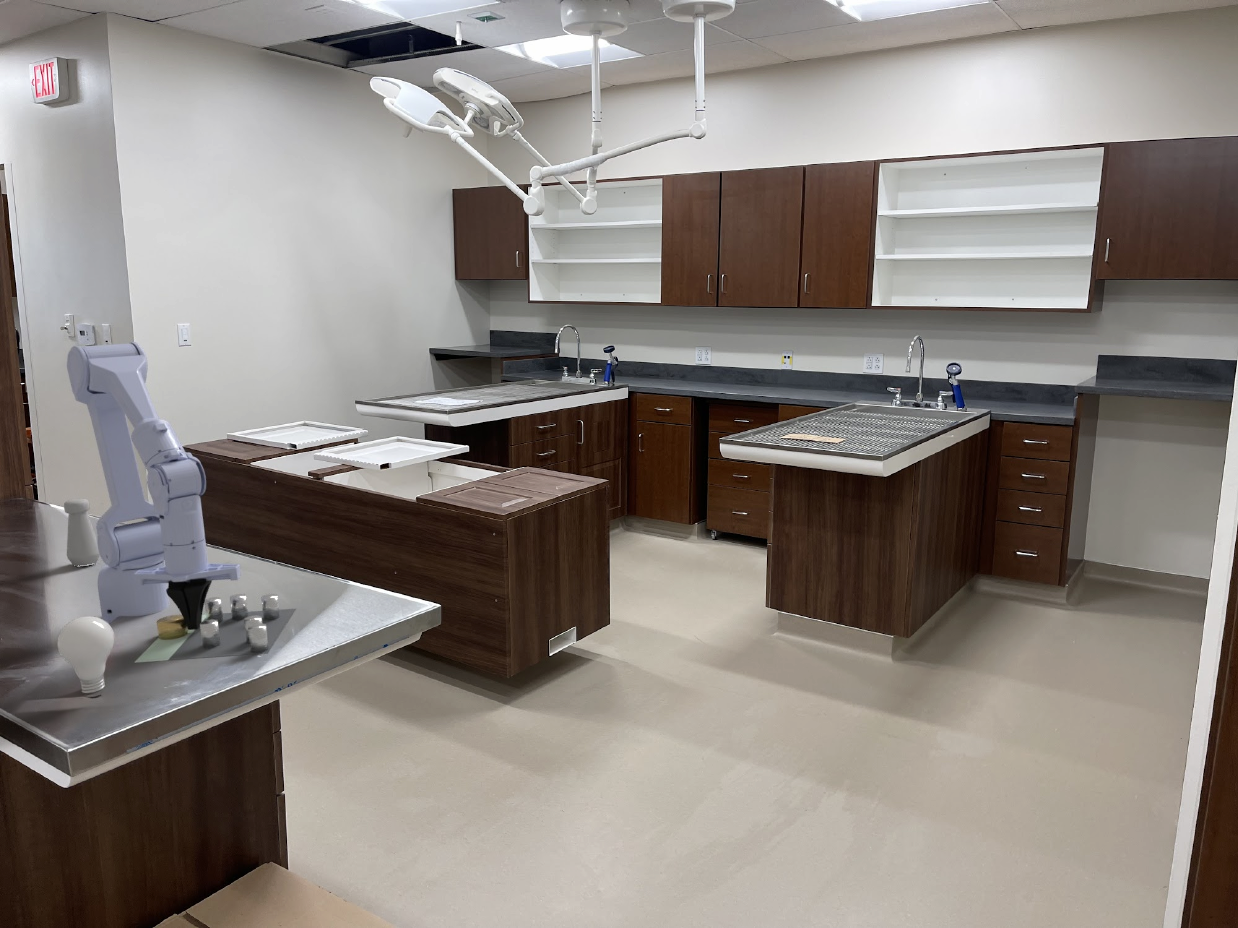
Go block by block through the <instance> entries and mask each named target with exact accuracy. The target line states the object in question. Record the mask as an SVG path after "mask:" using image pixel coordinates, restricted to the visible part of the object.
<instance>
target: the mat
mask: <svg viewBox="0 0 1238 928" xmlns="http://www.w3.org/2000/svg"><path fill="white" fill-rule="evenodd" d="M296 610H297V608H284V609H282V608H281V609H279V614H280V617H279V618H278V619H275V620H264V619H263V610H258V611H257V610H254V611H252V610H251V611H248V617H249V616H256V615H257V616H261V617H262V624H266V629H267V638H268V647H269V649H268V650H267V651H264V652H261V653H252V652H251V650H250V644H248V643H247V642H246V633H245V624H244V619H243V620H233V619H232V614H231V612H225V613H224V612H223V621H222V622H220V623H218V626H219V634H220V643H221V644H220V645H219V646H217V647H215V648H208V649H207V648H203V646H202V637H201V629H200V627H199V628H198V629H195V630H188V634H187V635H185V636H183V637H181V638H177V639H172V640H162V639H159V637H157V639H155V640H154V642H152V644H151V645H150V646H149V647H148V648H147V649H146V650H145V651H144V652H142V654H141V655H139V657H137V659H136V660H135V661H134V662H133V663H134V664H135V663H147V662H149V663H150V662H160V661H161V662H162V661H163V662H164V661H176V660H177V661H179V660H191V659H205V658H207V659H209V658H223V657H236V656H248V655H249V656H250V655H265V654H269V652H270V651H271V649H272V648H273V646H274V645H275V643H276V641H277V640H278V638H279V637H280V636H281V633H283V630H284V629H285V628H286V626H287V624H288V623H289V621H290V619H291V618H292V616H293V615H294V613H295V612H296ZM203 621H206V613H205V614H202V621H201V622H203Z"/></svg>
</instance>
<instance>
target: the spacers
mask: <svg viewBox="0 0 1238 928" xmlns="http://www.w3.org/2000/svg"><path fill="white" fill-rule="evenodd" d="M260 599H261V607H262V608H261V609H262V610H261V611H263V619H264V620H275V619H278V618H279V617H280V614H279V610H280V606H279V596H278V594H277V593H268V594H264V595H262V596H261V598H260ZM229 603H230V604H229V605H230V613H231V614H232V619H233V620H243V619H244V624H245V633H246V642H247V643H248V644H250V650H251V652H252V653H261V652H264V651H267V650H268V649H269V647H268V638H267V629H266V624H262V617H261V616H257V615H256V616H249V617H248V612H249V610H248V609H249V608H248V600H247V594H245V593H237V594H232V595H231V596H230V597H229ZM204 610H205V611H204V612H205V614H206V621H203V622H201V623H200V629H201V637H202V646H203V648H207V649H208V648H215V647H217V646H219V645H220V644H221V643H220V634H219V626H218V623H220V622H222V621H223V613H224V612H223V603H222V598H221V597H217V596H216V597H210V598H207V599H206V598H205V602H204Z"/></svg>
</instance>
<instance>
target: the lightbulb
mask: <svg viewBox="0 0 1238 928" xmlns="http://www.w3.org/2000/svg"><path fill="white" fill-rule="evenodd" d="M115 638H116V637H115V632H114V630H113V628H112V626H111V625H110V624H108V623H107V622H106V621H104V620H103V619H102V617H101V618H100V617H97V616H92V615H85V616H79V617H77V618H74V619H73V620H71V621H70V622H68V623H67V624H66V625H64V627H63V628H62V629H60V632H59V634H58V637H57V650H58V652H59V654H60V657H62V659H64V661H66V662H67V663H68V664H69V665H70V666H71V667H72V668H73V669H74V672H75V674H76V676H77V677H78V678H79V681H80V687H81V693H83V694H90V695H83V697H84V698H88V699H98V698H99V697H100V696H101V694H94V695H93V693H96V692H100V691H103V690H104V689H105V686H106V684H105V674H104V673H105V671H106V664H107V660H108V658H109V656H110V654H111V653H112V651H113V648H114V644H115ZM91 694H92V695H91Z"/></svg>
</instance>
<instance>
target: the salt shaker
mask: <svg viewBox="0 0 1238 928" xmlns="http://www.w3.org/2000/svg"><path fill="white" fill-rule="evenodd" d="M90 507H91V506H90V501H89V500H88V499H87V498H73V499H68V500H67V501H65V502H64V504H63V510H64V513H65V514H68V517H67V521H68V522H67V540H66V541H67V543H66V557H67V560H69V562H70V563H71V564H72V565H75V566H78V565H79V566H80V565H87V564H92V563H96V562H97V561H99V558H100V557H101V556H100V554H99V550H98V545H97V538H98V537H97V534H96V532H95V530H94V527H93V525H92V522H91V519H90V516H89V514H88V513H89V512H88V511H89V510H90ZM97 563H98V562H97ZM97 563H96V564H97ZM75 566H74V567H75Z"/></svg>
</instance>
